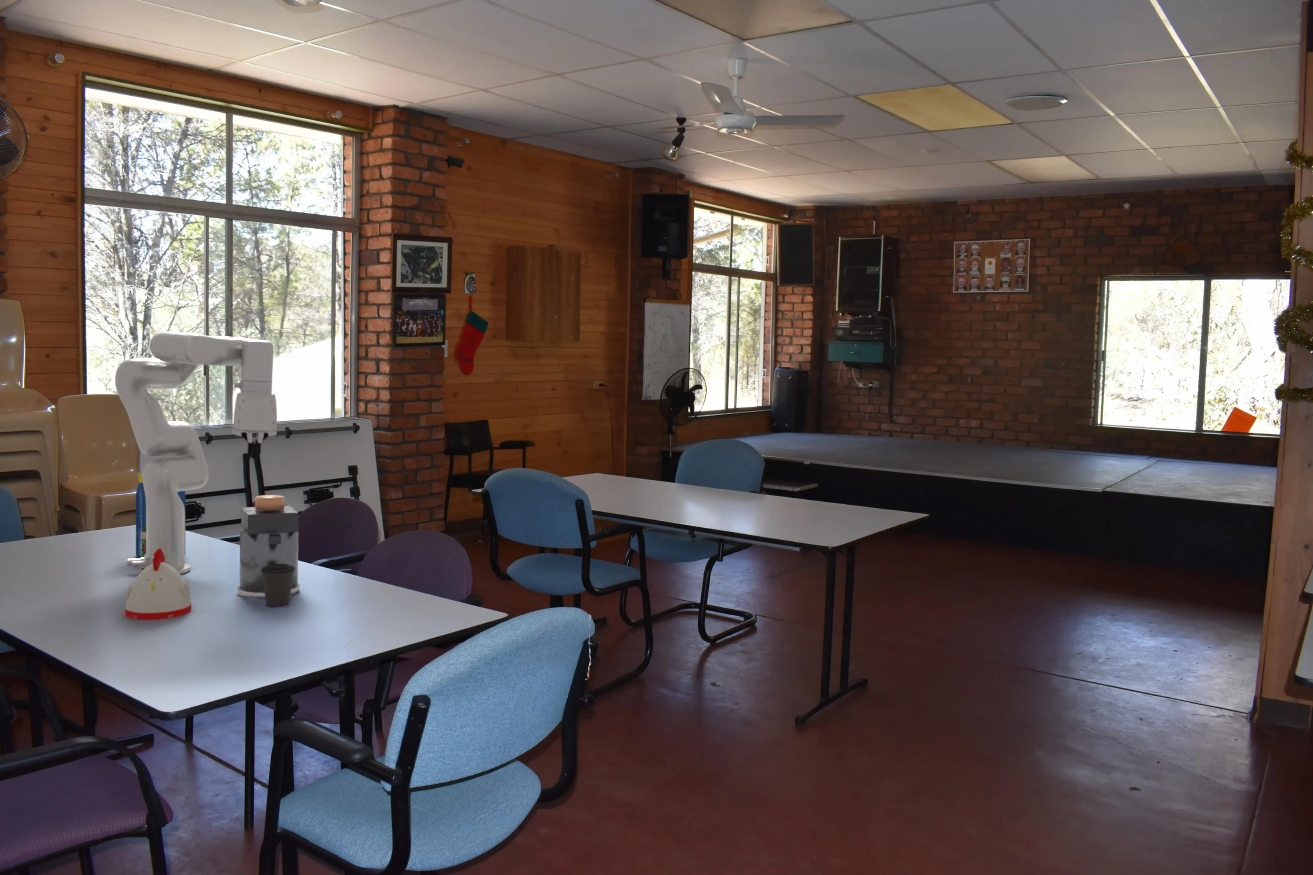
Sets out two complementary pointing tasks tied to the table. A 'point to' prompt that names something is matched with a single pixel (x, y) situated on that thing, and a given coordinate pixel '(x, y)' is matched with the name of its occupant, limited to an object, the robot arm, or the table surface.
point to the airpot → (266, 547)
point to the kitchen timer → (158, 592)
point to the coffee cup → (277, 584)
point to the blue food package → (144, 517)
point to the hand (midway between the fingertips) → (253, 457)
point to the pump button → (269, 502)
